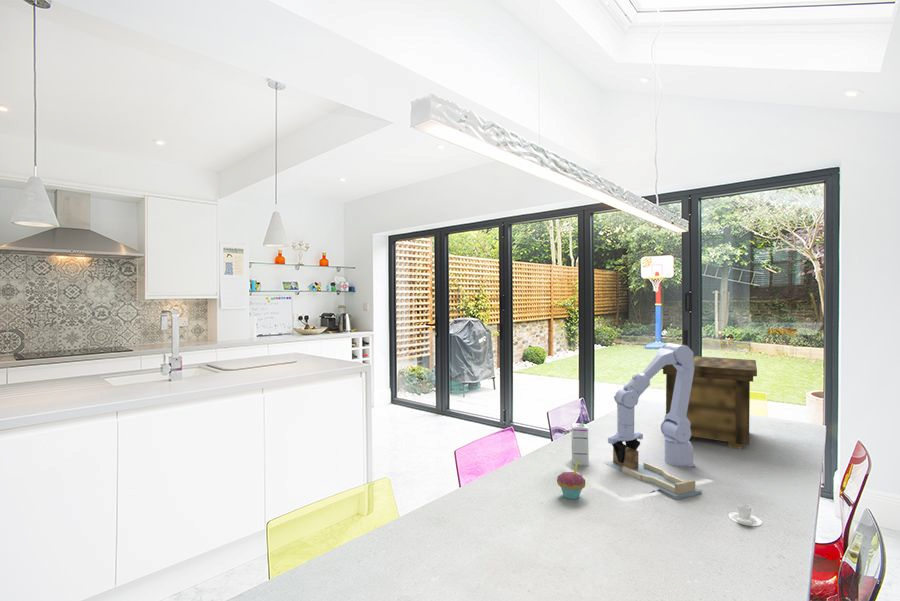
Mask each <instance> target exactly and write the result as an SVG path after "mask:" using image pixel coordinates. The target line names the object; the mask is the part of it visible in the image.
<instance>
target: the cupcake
mask: <svg viewBox="0 0 900 601" xmlns="http://www.w3.org/2000/svg"><path fill="white" fill-rule="evenodd" d="M578 466H579V465H578V459H577V460H576V464H575V466H574V471H570V472H569V471H568V472H567V471H564V472H562V473H559V475H558V476H557V478H556V482H557V484H558V486H559V487H560V489H561V491H562V496H563V497H564V498H567V499H569V500H576V499H580V495H581V493H582V490H583V489H584V488H585V487H586V479H585V478H584V477H583V475H581V474H579V473H577V472H578V471H577V470H578Z"/></svg>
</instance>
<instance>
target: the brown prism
mask: <svg viewBox="0 0 900 601" xmlns="http://www.w3.org/2000/svg"><path fill="white" fill-rule="evenodd" d="M612 449H613V450H612V461H613V462H614V463H616V464H618V465H620V466H622V467H623V466H625V467H627V468H630V469H636V468H638V464H639V450H638V449H637V450H634V449H632V448H629V447H626V449H625V454H624V462H623V463H620V462H618V459H617V455H616V452H615V450H614V447H613V446H612Z"/></svg>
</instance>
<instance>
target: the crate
mask: <svg viewBox="0 0 900 601" xmlns="http://www.w3.org/2000/svg"><path fill="white" fill-rule="evenodd" d="M693 363H694V367H695V369H694V375H693V381H692V386H691V392H690V398H689V404H688V409H687V415H686V416H687V418H688V420H689V421H690V423H691V425H690V430H691V437H695V438H703V439H710V440H716V441H723V442H728V447H730V448H736V449H743V445H745V446H750V402H751V400H750V395H751V394H750V389H751V388H750V387H751V383H750V382H753V383H754V377H758V369H757V361H756V359H745V358H729V357H716V356H715V357H714V356H713V357H712V356H699V355H698V356H697V355H693ZM661 370H662V375H666V376H665V377H666V378H665V380H666V381H665V382H666V384H665V398H666V399H665V415H666V414H668V413H669V412H670V408H671V403H672V397H673V391H674V386H675V380H676V374H677V369H676V368H675V367H674V366H673V364H670V365H665V366H664V367H663V368H662V369H661Z"/></svg>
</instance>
